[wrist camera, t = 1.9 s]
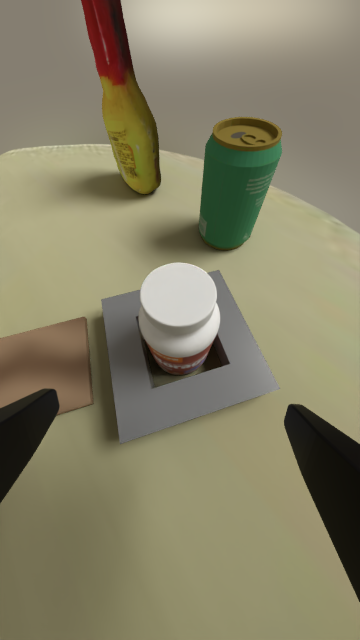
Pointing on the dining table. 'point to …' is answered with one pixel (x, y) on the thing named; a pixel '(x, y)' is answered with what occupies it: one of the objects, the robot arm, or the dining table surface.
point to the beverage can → (236, 179)
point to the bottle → (123, 97)
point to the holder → (189, 393)
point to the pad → (48, 364)
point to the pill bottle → (179, 316)
